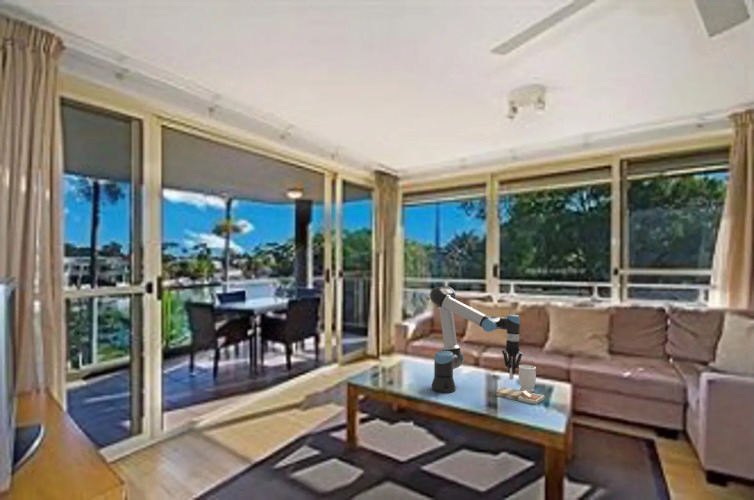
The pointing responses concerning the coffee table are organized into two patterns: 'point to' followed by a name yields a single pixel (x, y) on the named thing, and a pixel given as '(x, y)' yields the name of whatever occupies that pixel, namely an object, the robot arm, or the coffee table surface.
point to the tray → (535, 402)
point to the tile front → (534, 397)
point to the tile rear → (526, 394)
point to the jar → (527, 377)
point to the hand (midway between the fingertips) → (511, 378)
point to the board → (509, 393)
